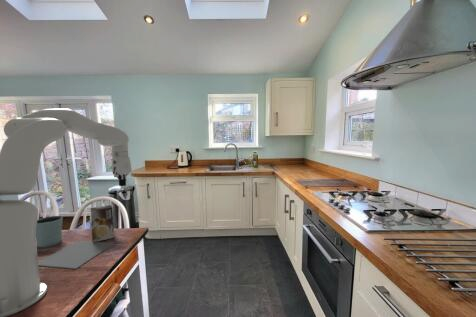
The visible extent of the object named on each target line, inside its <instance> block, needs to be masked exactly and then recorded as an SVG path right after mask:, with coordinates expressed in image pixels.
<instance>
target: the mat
mask: <svg viewBox="0 0 476 317" xmlns="http://www.w3.org/2000/svg"><path fill="white" fill-rule="evenodd" d="M113 245H115V243H114V242H104V241H103V242H102V241H98V242H94V243H92V241H90V240H89V241H87V240H86V241H85V240H77V241H75V242H73V243H71V244H70V245H68V246H66V247H64V248H61V249H60V250H57V251H56V252H54V253H52V254H50V255H48V256H46V257H44V258H42V259H40V260H38V267H44V268H45V267H48V268H58V269H70V270H78V269H79V268H80V267H82V266H83V265H85V264H87V263H88V262H89V261H91V260H92V259H94V258H95V257H97V256H99V254H101V253H103V252H105V250H107V249H109V248H110V247H113Z"/></svg>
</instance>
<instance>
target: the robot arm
mask: <svg viewBox="0 0 476 317" xmlns="http://www.w3.org/2000/svg"><path fill="white" fill-rule="evenodd" d="M66 132H70V133H72V134H75V135H77V136H80V137H82V138H85V139H90V140H94V141H95V140H97V142H98V144H99V145H100V146H104V147H112V162H111V165H112V166H111V169H112V175H113V177H114V178H117V180H118V186H119V187H125V186H127V176H129V175H130V174H131V173H132V164H131V158H130V157H129V136H128V134H127V133H126V132H125V131H123V130H121V129H120V128H119V127H116V126H112V125H109V124H104V123H102V122H101V123H100V122H96V121H95V120H94V119H93V120H92V119H91V118H88V117H87V116H85V115H83V114H82V113H79V112H77V111H75V110H74V109H70V108H43V109H40V110H36V111H33V112H30V113H27V114H22V115H20V116H16V117H14V118H11V119H9V120H8V121H7V122H6V123H5V124H4V126H3V133H4V135H5V137H7V139H5V141H4V142H3V144H2V147H1V149H0V317H9V316H10V315H11V316H12V315H14V314H17V313H19V312H21V311H24V310H25V309H27V308H29V307H30V306H33V305H34V304H36V303H37V302H38V301H39V300H41V299H42V298H43V297H44V296H45V294H46V293H47V292H48V285H47V284H46V283H44V282H40V281H41V280H40V269H39V266H38V261H39V260H38V246H37V240H36V224H37V220H38V219H39V210H38V208H37V206H36V205H35V204H34V203H32V202H30V201H27V200H23V199H22V200H21V199H3V196H4V197H5V196H20V195H25V194H29V193H31V192H32V191H33V190H34V189H35V187H36V184H37V181H38V175H39V168H40V167H39V166H40V162H41V157H42V153H43V152H44V150H45V149H46V148H47V147H48V146H49V145H50V144H52V143H53V142H57V141H60V139H62V138H63V137H64V135H65V134H66Z"/></svg>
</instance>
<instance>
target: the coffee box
mask: <svg viewBox="0 0 476 317" xmlns="http://www.w3.org/2000/svg"><path fill="white" fill-rule="evenodd" d="M113 208H114V207H113V206H112V204H109V205H103V206H97V207H90V224H91V225H90V227H91V242H92V243H94V242H102V241H105V240H109V239H113V238H115V235H114V234H115V233H114V232H115V231H114V230H115V229H114V212H113V211H114V210H113Z"/></svg>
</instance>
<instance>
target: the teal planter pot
mask: <svg viewBox="0 0 476 317" xmlns="http://www.w3.org/2000/svg"><path fill="white" fill-rule="evenodd" d="M63 218H64V217H63V216H62V215H52V216H45V217H42V218H38V219H37V224H36V246H37V248H48V247H52V246H54V245H56V244H59V243H60V242H62V235H63V234H62V233H63V232H62V230H63Z"/></svg>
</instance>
